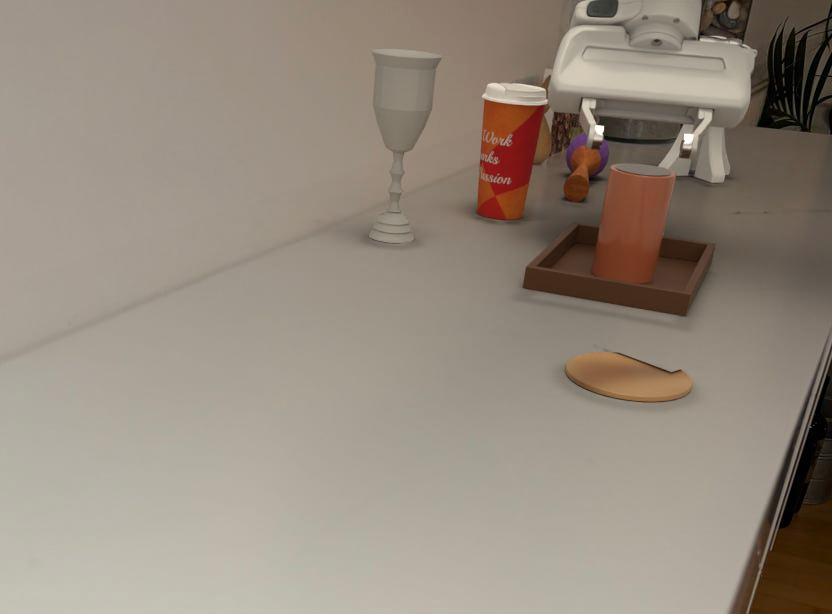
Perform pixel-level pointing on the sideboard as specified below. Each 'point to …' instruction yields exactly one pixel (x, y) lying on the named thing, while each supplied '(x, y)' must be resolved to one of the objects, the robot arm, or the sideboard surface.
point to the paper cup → (508, 147)
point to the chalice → (401, 123)
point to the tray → (571, 276)
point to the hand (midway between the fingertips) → (640, 150)
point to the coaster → (626, 377)
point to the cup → (633, 222)
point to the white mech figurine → (701, 155)
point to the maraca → (583, 166)
